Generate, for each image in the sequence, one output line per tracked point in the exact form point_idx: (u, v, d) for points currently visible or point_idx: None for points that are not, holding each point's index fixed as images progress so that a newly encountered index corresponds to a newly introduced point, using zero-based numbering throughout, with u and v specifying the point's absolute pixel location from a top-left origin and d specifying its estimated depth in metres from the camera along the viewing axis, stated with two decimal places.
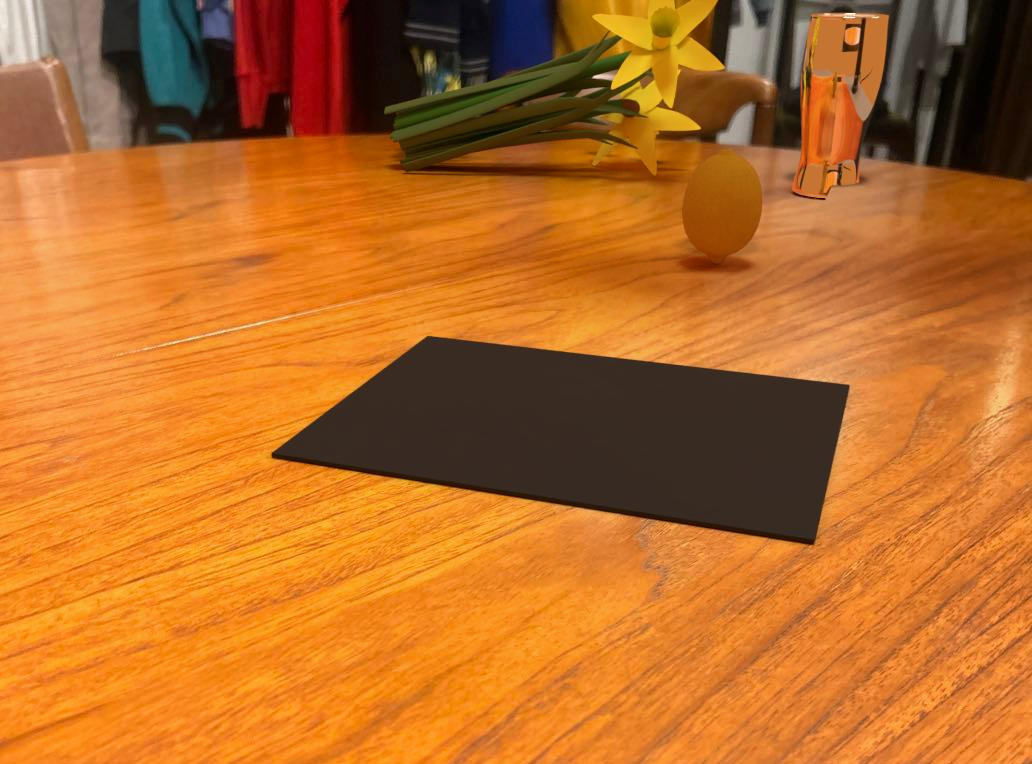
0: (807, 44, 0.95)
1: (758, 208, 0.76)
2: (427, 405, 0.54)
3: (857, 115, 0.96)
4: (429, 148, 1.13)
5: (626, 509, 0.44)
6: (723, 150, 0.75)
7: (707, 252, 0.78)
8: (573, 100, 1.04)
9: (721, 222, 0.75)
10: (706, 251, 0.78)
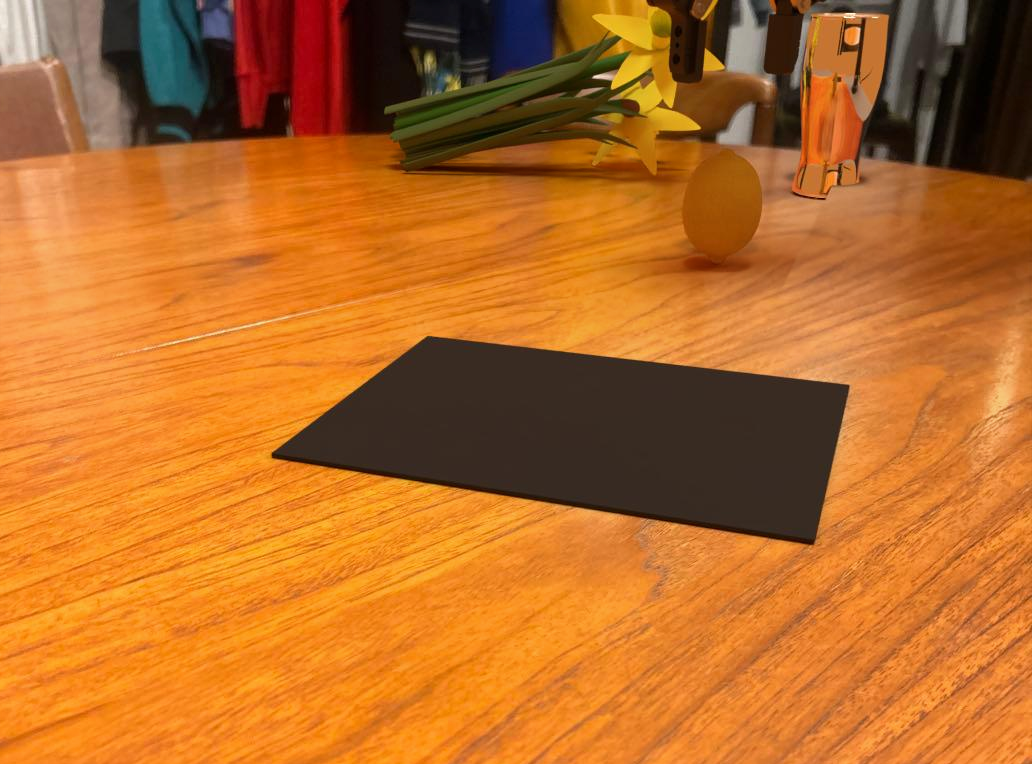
0: (807, 44, 0.95)
1: (758, 208, 0.76)
2: (427, 405, 0.54)
3: (857, 115, 0.96)
4: (429, 148, 1.13)
5: (626, 509, 0.44)
6: (723, 150, 0.75)
7: (707, 252, 0.78)
8: (573, 100, 1.04)
9: (721, 222, 0.75)
10: (706, 251, 0.78)
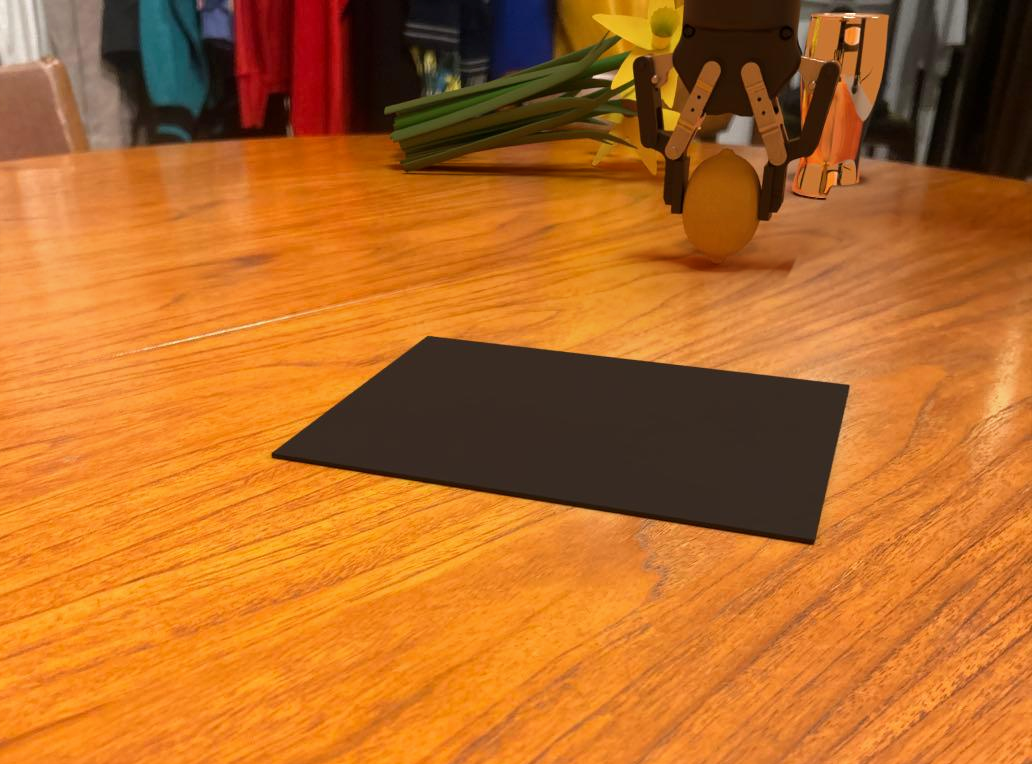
0: (807, 44, 0.95)
1: (758, 208, 0.76)
2: (427, 405, 0.54)
3: (857, 115, 0.96)
4: (429, 148, 1.13)
5: (626, 509, 0.44)
6: (723, 150, 0.75)
7: (707, 252, 0.78)
8: (573, 100, 1.04)
9: (721, 222, 0.75)
10: (706, 251, 0.78)
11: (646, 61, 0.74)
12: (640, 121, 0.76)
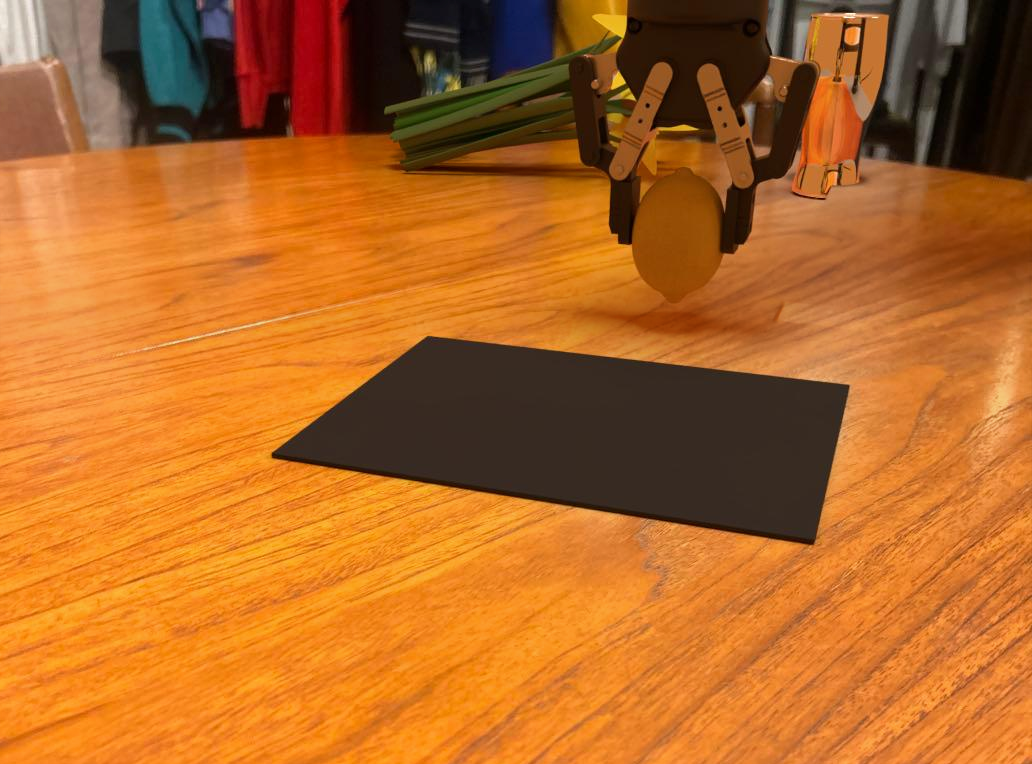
0: (807, 44, 0.95)
1: (721, 239, 0.63)
2: (427, 405, 0.54)
3: (857, 115, 0.96)
4: (429, 148, 1.13)
5: (626, 509, 0.44)
6: (679, 169, 0.63)
7: (661, 290, 0.65)
8: None
9: (676, 256, 0.62)
10: (660, 289, 0.65)
11: (584, 62, 0.61)
12: (579, 134, 0.63)
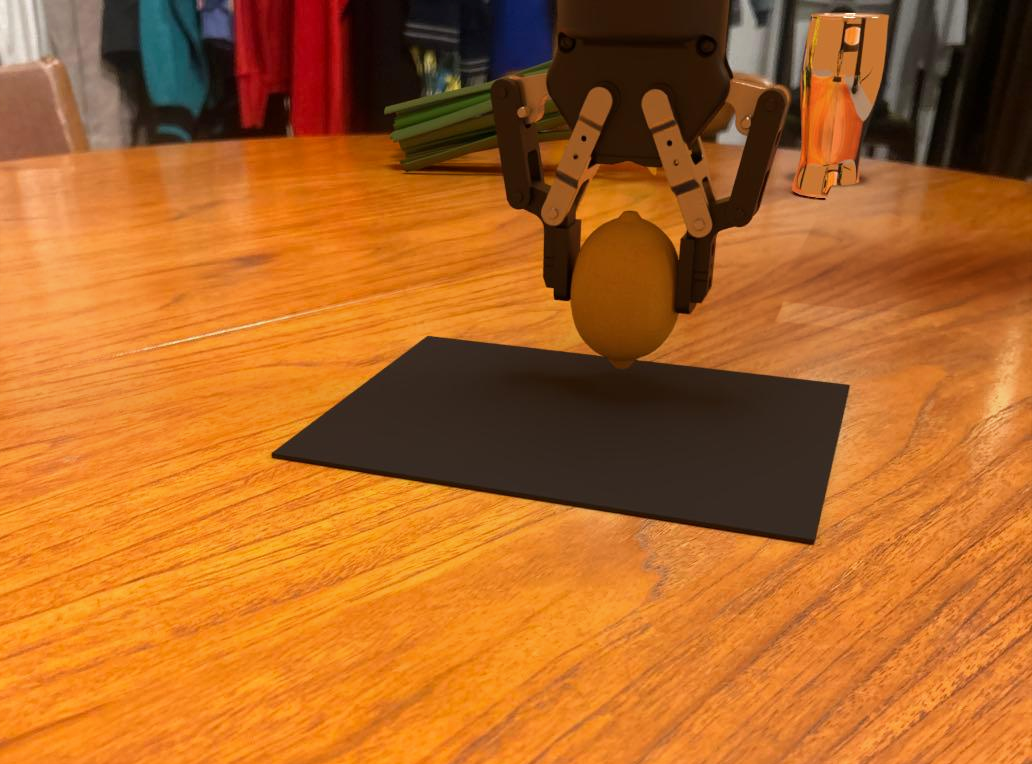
0: (807, 44, 0.95)
1: (674, 296, 0.53)
2: (427, 405, 0.54)
3: (857, 115, 0.96)
4: (429, 148, 1.13)
5: (626, 509, 0.44)
6: (624, 213, 0.52)
7: (605, 355, 0.55)
8: None
9: (621, 317, 0.52)
10: (603, 354, 0.55)
11: (509, 86, 0.51)
12: (504, 171, 0.53)
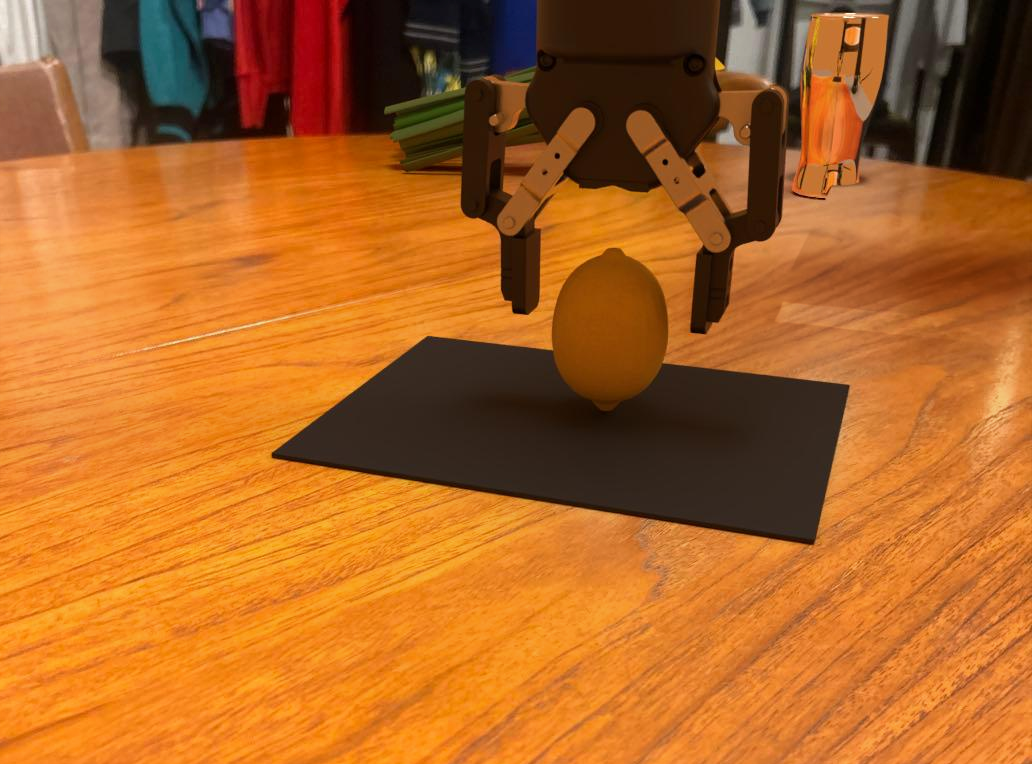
0: (807, 44, 0.95)
1: (660, 337, 0.50)
2: (427, 405, 0.54)
3: (857, 115, 0.96)
4: (429, 148, 1.13)
5: (626, 509, 0.44)
6: (607, 251, 0.50)
7: (588, 398, 0.52)
8: None
9: (604, 360, 0.50)
10: (587, 397, 0.52)
11: (486, 89, 0.47)
12: (464, 176, 0.49)
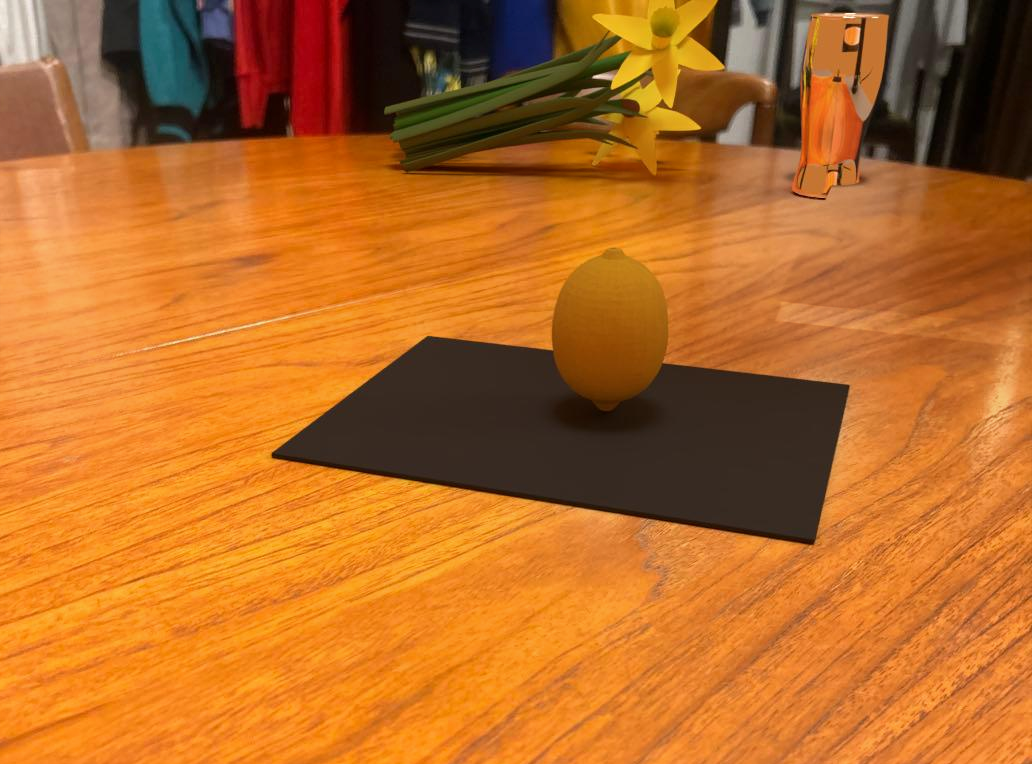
0: (807, 44, 0.95)
1: (661, 337, 0.50)
2: (427, 405, 0.54)
3: (857, 115, 0.96)
4: (429, 148, 1.13)
5: (626, 509, 0.44)
6: (607, 251, 0.50)
7: (588, 398, 0.52)
8: (573, 100, 1.04)
9: (604, 360, 0.50)
10: (587, 397, 0.52)
11: None
12: None
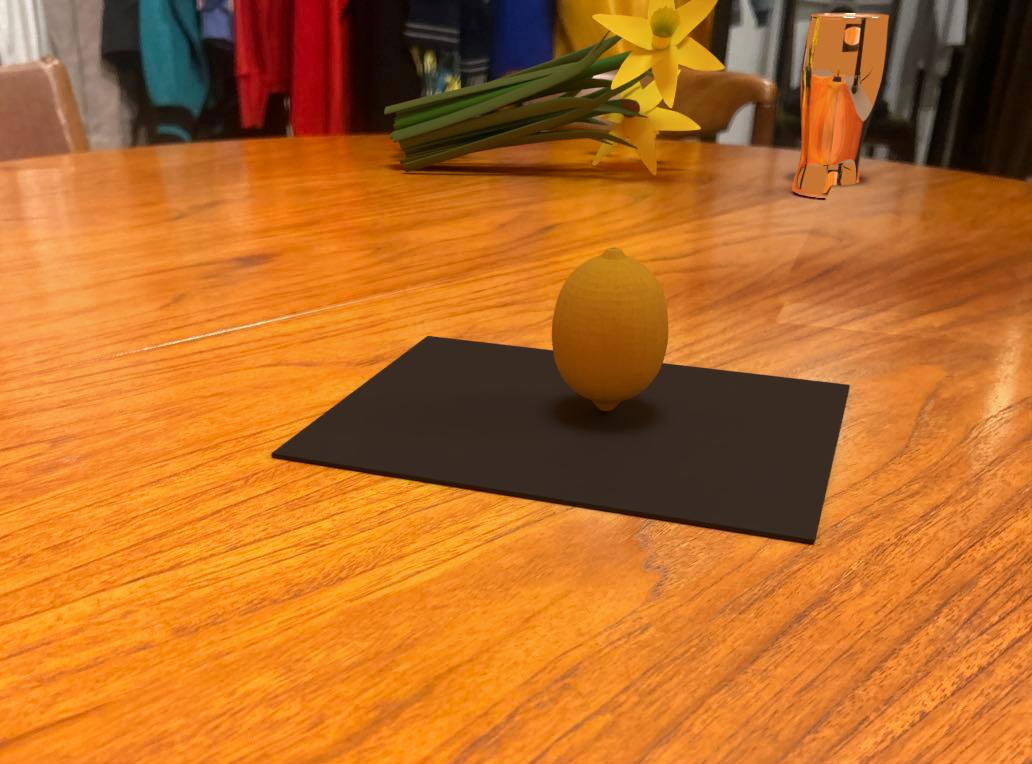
0: (807, 44, 0.95)
1: (661, 337, 0.50)
2: (427, 405, 0.54)
3: (857, 115, 0.96)
4: (429, 148, 1.13)
5: (626, 509, 0.44)
6: (607, 251, 0.50)
7: (588, 398, 0.52)
8: (573, 100, 1.04)
9: (604, 360, 0.50)
10: (587, 397, 0.52)
11: None
12: None
